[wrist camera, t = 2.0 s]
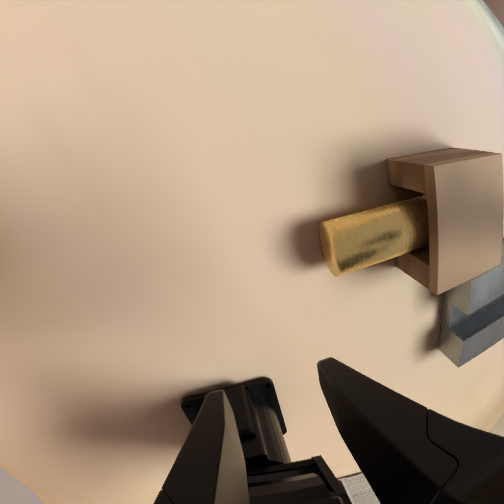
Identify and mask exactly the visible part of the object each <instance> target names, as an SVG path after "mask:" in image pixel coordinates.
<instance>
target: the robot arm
mask: <svg viewBox="0 0 504 504" xmlns="http://www.w3.org/2000/svg"><path fill="white" fill-rule="evenodd" d="M317 368H318V374H319V381H320V386H321V389H322V391H323V394H324V396H325V399H326V401H327V404H328V406H329V409H330V411H331V414H332V416H333V419H334V421H335V424H336V426H337V428H338V431H339V433H340V435H341V437H342V438H343V440H344V442H345V444H346V445H347V447H348V449H349V451H350V452H351V454H352V456H353V457H354V459H355V461H356V463H357V464H358V466H359V468H360V469H361V471H362V473H363V475H364V476H365V478H366V480H367V481H368V483H369V485H370V487H371V488H372V490H373V492H374V493H375V495H376V497H377V499H378V500H379V502H380V504H504V437H502V436H499V435H496V434H492V433H489V432H486V431H483V430H479V429H476V428H473V427H470V426H468V425H465V424H462V423H459V422H457V421H454V420H452V419H450V418H448V417H445V416H443V415H441V414H439V413H437V412H435V411H433V410H431V409H427V408H426V407H424V406H422V405H421V404H419V403H417V402H415V401H413V400H411V399H409V398H407V397H405V396H403V395H401V394H399V393H397V392H395V391H393V390H391V389H389V388H388V387H386V386H384V385H382V384H380V383H378V382H376V381H374V380H373V379H371V378H369V377H367V376H365V375H363V374H361V373H360V372H358V371H356V370H354V369H352V368H350V367H349V366H347V365H345V364H343V363H341V362H340V361H338V360H336V359H334V358H332V357H329V358H326V359H323V360H321V361H319V362H318V363H317ZM265 384H268V385H266V386H263V385H265ZM181 408H182V409H183V411H184V413H185V414H186V416H187V418H188V420H189V421H190V423H191V425H192V428H191V430H190V432H189V434H188V436H187V438H186V440H185V442H184V444H183V446H182V448H181V450H180V452H179V454H178V456H177V458H176V460H175V462H174V464H173V466H172V468H171V470H170V472H169V474H168V476H167V478H166V480H165V482H164V484H163V486H162V490H160V492H159V494H158V496H157V498H156V500H155V502H154V504H352V502H351V500H350V498H349V496H348V494H347V493H346V491H345V490H344V489H343V487H342V486H341V484H340V483H339V481H338V480H337V478H336V477H335V476H334V474H333V473H332V471H331V470H330V468H329V467H328V465H327V464H326V462H325V461H324V459H323V458H322V456H321V455H320V456H315V457H312V458H311V459H307V460H301V461H296V462H291V459H290V456H289V453H288V450H287V447H286V444H285V440H284V437H283V435H284V434H285V433H286V432H287V430H286V426H285V423H284V419H283V416H282V412H281V409H280V406H279V402H278V399H277V395H276V392H275V388H274V385H273V382H272V380H271V379H270V378H262V379H259V380H255V381H251V382H248V383H244V384H240V385H236V386H232V387H228V388H224V389H220V390H216V391H212V392H208V393H203V394H199V395H194V396H190V397H185V398H183V399H182V400H181Z"/></svg>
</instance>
